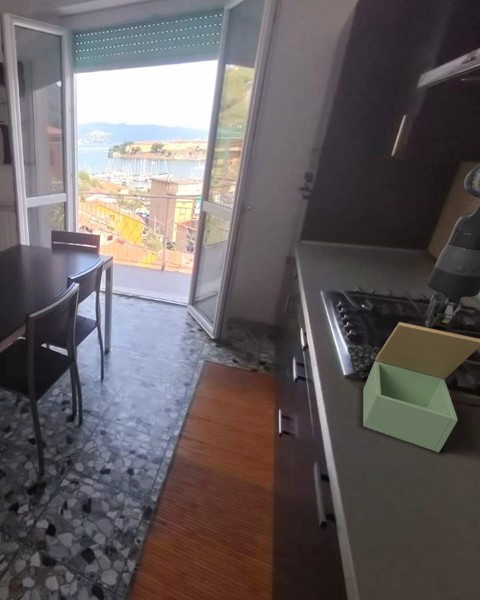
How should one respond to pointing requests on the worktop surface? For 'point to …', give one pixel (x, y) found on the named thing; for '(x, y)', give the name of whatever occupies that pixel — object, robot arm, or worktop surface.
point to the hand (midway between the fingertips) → (425, 343)
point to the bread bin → (408, 406)
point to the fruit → (363, 359)
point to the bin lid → (426, 350)
